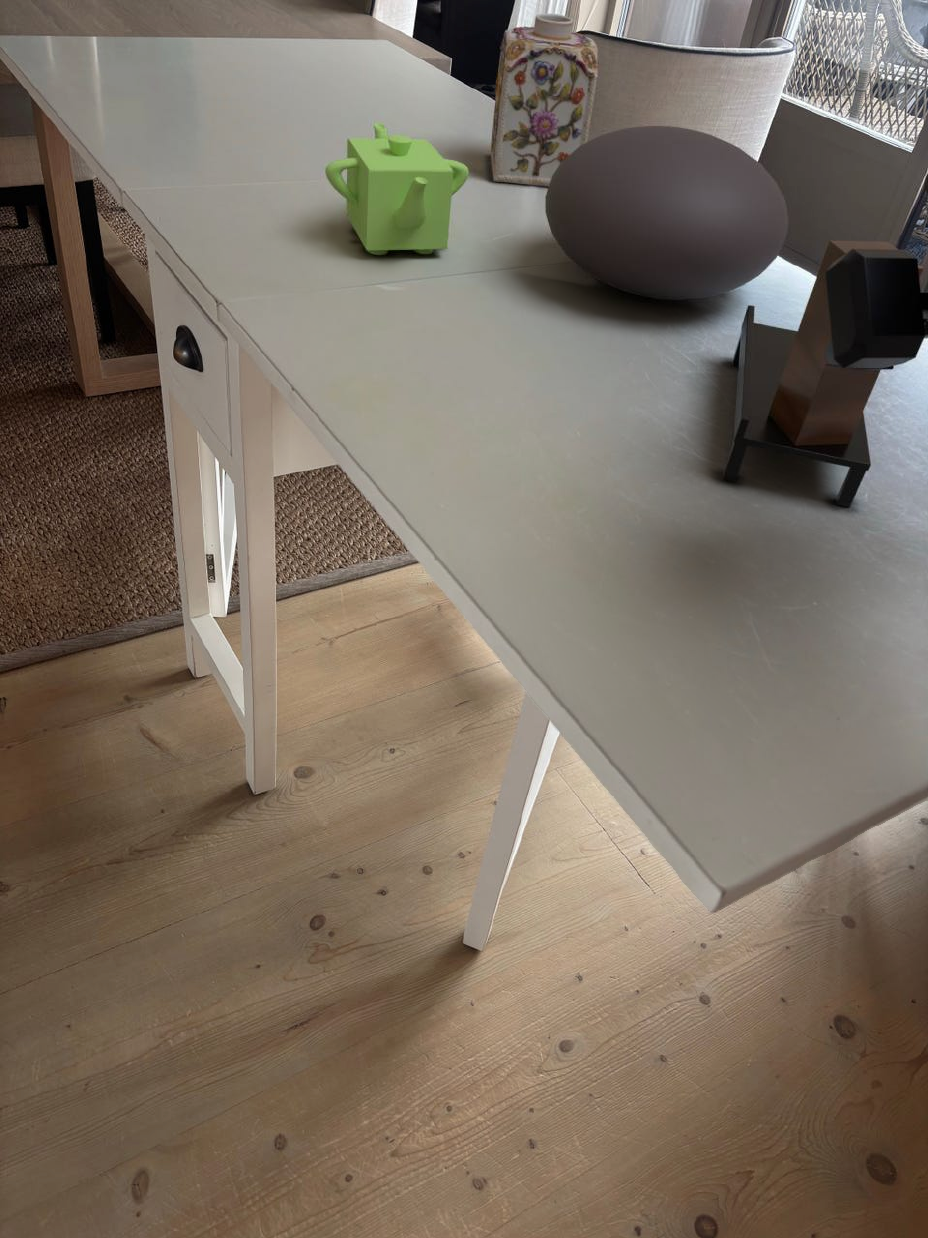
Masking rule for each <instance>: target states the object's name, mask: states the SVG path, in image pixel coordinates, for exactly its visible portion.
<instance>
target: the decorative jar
mask: <svg viewBox="0 0 928 1238" xmlns="http://www.w3.org/2000/svg"><path fill="white" fill-rule="evenodd" d="M534 18H535V19H534V25H533V26H519V27H518V26H517V27H514V28H510V29H505V31H504V33H503V35H502V39H501V42H500V47H499V49H500V53H499V54H500V55H499V63H498V70H497V75H496V81H495V99H494V109H493V116H492V118H493V119H492V129H491V141H490V142H491V143H490V161H491V171H492V180H493V182H497V183H498V182H499V183H508V184H509V183H510V184H520V185H530V186H540V187H547V188H548V187H549V184H550V181H551V178H552V175H553V174H554V172H555V171H556V169H557V168H558V166H559V165H560V163H561V162H562V161H563V160H565V159H566V158H567V157H568V156H569V155H570V154H571V153H573V152H574V151H575V150H576V149H577V148H578V147H579V146H581V145H583V144H585V143H587V142H588V140H589V133H590V126H591V118H592V113H593V107H594V102H595V100H594V99H595V94H596V88H597V80H598V77H599V61H598V56H599V51H598V45H597V42H596V41H595V40H594V39H592V38H590V37H588V36H585V35H584V34H582V33H577V32H575V31H573V26H574V20H573V19H572V17H569V16H566V15H563V14H558V13H539V14H536V16H535V17H534Z"/></svg>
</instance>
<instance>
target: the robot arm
mask: <svg viewBox="0 0 928 1238" xmlns="http://www.w3.org/2000/svg"><path fill="white" fill-rule="evenodd" d="M923 187H924V190H925V193H926V195H927V196H928V173H927V174H926V175H925V178H924V184H923ZM918 260H919V259H918V258H917V257H916V256H915V255H913V254H911V253H910V252H908V250H906V249H898V250H888V249H851V250H850V251H849V252H847V253H846V254H845V255H843V256H842V257H840V258H839V259H838V260H836V261H835V262H833V263H832V265H831V266H830V267H829V268H828V269H827V271H826V272H825V275H826V286H827V296H828V306H829V317H830V327H831V337H832V338H831V340H830V341H829V343H828V345H827V346H826V348H825V362H826V365H827V366H837V367H842V368H843V369H847V368H850V369H852V370H881V371H882V370H883V371H886V370H889V371H890V370H893V369H895V368H894V367H895V366H899V365H903V364H906V363H908V362H909V361H912V360H914V359H916V358H917V355H918V354H919V351H920V349H921V346H922V345H923V342H924V340H925V339H928V292H922V291H921V281H920V280H921V279H919V270H918V264H919V261H918Z"/></svg>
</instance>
